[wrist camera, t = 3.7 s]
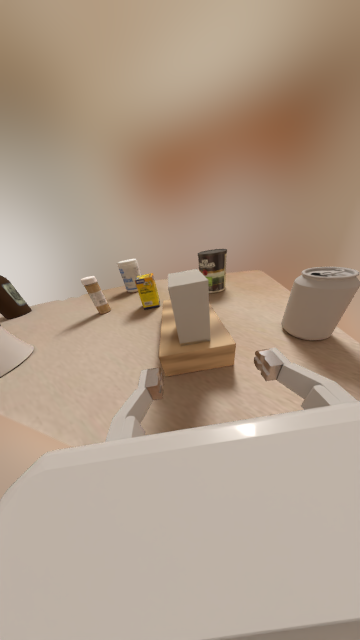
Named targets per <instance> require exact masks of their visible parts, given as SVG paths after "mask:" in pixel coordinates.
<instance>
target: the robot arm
mask: <svg viewBox="0 0 360 640" xmlns="http://www.w3.org/2000/svg"><path fill="white" fill-rule="evenodd" d="M33 349H34V347H33V346H32V345H29V344H27V343H25V342H24V341H22V340H20V339H18V338H17V337H15V336H14V335H12V334H11V333H9V332H8V331H7V330H5V329H4V328H3V327H1V325H0V377H1V376H2V375H4V374H6V373H7V372H9V371H10V370H12V369H13V368H15V367H16V366H18V365H19V364H20V363H21V362H23V361H24V360H25V359H26V358H27V357H28V356H29V355H30V354H31V353H32V351H33ZM255 355H256V357H255V358H254V364H255V366H256V368H257V369H258V370H260V371H261V375H262V376H263V378H264V379H265V381H271V380H277V381H279V382H280V383H281V384H283V385H284V386H286V387H287V388H289V389H290V390H292V391H293V392H295V393H296V394H297V395H299V396H300V397H302V398H303V399H305V400H304V401H303V403H302V405H301V406H302V407H303V409H304V410H299V411H293V412H287V413H281V414H275V415H269V416H262V417H256V418H250V419H244V420H238V421H232V422H225V423H219V424H213V425H207V426H201V427H195V428H188V429H182V430H176V431H170V432H164V433H158V434H151V435H145V430H144V429H143V427H142V426H141V425H140V424H141V422H142V420H143V418H144V416H145V415H146V413H147V411H148V409H149V407H150V405H151V404H152V402H153V400H157V399H162V398H163V388H162V386H163V385H164V380H163V375H162V373H161V369H160V368H153V369H146V370H142V371H141V374H140V379H139V384H138V388H137V389H136V390H135V391H134V392H133V393H132V395H131V396H130V397H129V398H128V400H127V401H126V402H125V403H124V405H123V406H122V407H121V408H120V410H119V411H118V412H117V413H116V415H115V416H114V417H113V419H112V422H111V425H110V428H109V432H108V435H107V438H106V441H105V442H102V443H96V444H90V445H84V446H78V447H71V448H65V449H59V450H53V451H50V452H47V453H45V454H43V455H42V456H41V457H40V458H39V459H38V460H37V461H36V462H34V463H33V464H32V465H31V466H30V467H29V468H28V469H27V470H26V471H25V472H24V473H23V474H22V475H21V476H20V477H19V478H18V479H17V480H16V481H15V482H14V483H13V484H12V485H11V486H10V488H9V489H8V490H7V491H6V492H5V494H4V495H3V497H2V498H1V500H0V640H360V401H357V400H356V399H355V398H354V397H353V396H352V395H350V394H349V393H348V392H347V391H346V390H344V389H343V388H342V387H341V386H340V385H339V384H337V383H336V382H335V381H332V380H330V379H328V378H326V377H324V376H321V375H319V374H317V373H315V372H313V371H310V370H308V369H306V368H304V367H302V366H299V365H297V364H295V363H291V362H290V361H289V360H288V359H287V358H286V357H285V356H284V355H283V354H282V353H281V352H280V351H279V350H278V349H277V348H271V349H264V350H259V351H256V352H255Z"/></svg>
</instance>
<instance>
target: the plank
mask: <svg viewBox="0 0 360 640" xmlns="http://www.w3.org/2000/svg"><path fill="white" fill-rule="evenodd" d="M209 313H210V339H211V341H208V342H203V343H197V344H191V345H185V346H180V342H179V337H178V332H177V328H176V323H175V318H174V313H173V309H172V304H171V299H170V300H165V301H163V310H162V322H161V335H160V348H159V359H160V362H161V365H162V367H163V370H164V373H165V376H166V377H167V376H172V375H178V374H184V373H190V372H196V371H202V370H208V369H214V368H220V367H225V366H231V365H234V358H235V348H236V343H235V342H234V340H233V339H232V337H231V336H230V334H229V332H228V331H227V329H226V328H225V326H224V325H223V323H222V322H221V320H220V319H219V317H218V316H217V314H216V313H215V311H214V310H213V308H212V307H211V305H210V304H209Z"/></svg>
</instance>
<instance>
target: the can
mask: <svg viewBox="0 0 360 640" xmlns="http://www.w3.org/2000/svg"><path fill="white" fill-rule="evenodd" d="M358 275H359V272H358V271H356V270H353V269H349V268H341V267H316V268H310V269H306V270H304V271H302V275H301V276H299V277H298V278H296V279H295V281H294V284H293V287H292V290H291V294H290V297H289V300H288V303H287V307H286V310H285V313H284V316H283V319H282V327H283V328H284V329H285V330H286V331H287V332H288V333H289V334H291V335H292V336H294V337H297V338H300V339H304V340H321V339H326V338H328V337H330V336H331V334H332V333H333V331H334V329H335V327H336V326H337V324H338V322H339V321H340V319H341V317H342V315H343V314H344V312H345V310H346V309H347V307H348V305H349V304H350V302H351V300H352V298H353V297H354V295H355V293H356V292H357V290H358V288H359V286H360V281H359V280H358V279H357V278H356V276H358Z"/></svg>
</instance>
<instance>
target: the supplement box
mask: <svg viewBox="0 0 360 640" xmlns="http://www.w3.org/2000/svg"><path fill="white" fill-rule="evenodd" d="M134 281H135V284H136V287H137V290H138V293H139V296H140V299H141V302H142V305H143V307H144V310H145V309H150V308H155V307H159V306H160V305H159V302H160V300H159V296H158V292H157V288H156V284H155V280H154V276H153V274H152V273H151V274H146V275H141V276H137V278H136V279H135V280H134Z"/></svg>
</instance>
